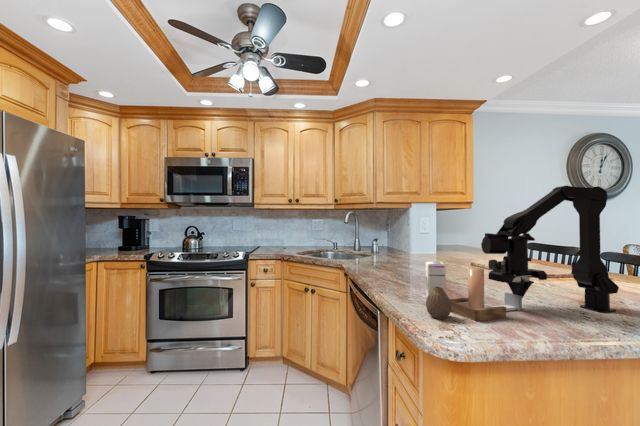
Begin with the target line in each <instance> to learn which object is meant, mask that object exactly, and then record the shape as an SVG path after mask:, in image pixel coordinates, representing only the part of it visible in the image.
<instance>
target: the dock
mask: <svg viewBox="0 0 640 426" xmlns="http://www.w3.org/2000/svg"><path fill="white" fill-rule="evenodd" d="M449 299H450V302H451V312H452V313H454V314H457V315H459V316H461V317H464V318H465V319H466V318H467V319H469V320H471V321H474V322H479V321H488V320H496V319H504V318H505V319H506V318H507V311H506V307H503V306H500V305H498V306H499V307H490V308H480V309H473V308H471V307H468V306H465V305H463V304H460V303H459V302H468V297H459V298H458V297H457V298H449Z"/></svg>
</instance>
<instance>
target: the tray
mask: <svg viewBox="0 0 640 426" xmlns="http://www.w3.org/2000/svg"><path fill="white" fill-rule="evenodd" d="M459 303H460V304H463V305H465V306H468V302H459ZM499 306H503V307H506V312H509V311H518V312H519V311H520V312H521V311H523V298H522V296H519V295H515V294H513V293H512V292H504V304H503V305H502V304H501V305H500V304H499V305H494V306H493V305H490V304H487V303H484V308H490V307H499Z"/></svg>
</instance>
